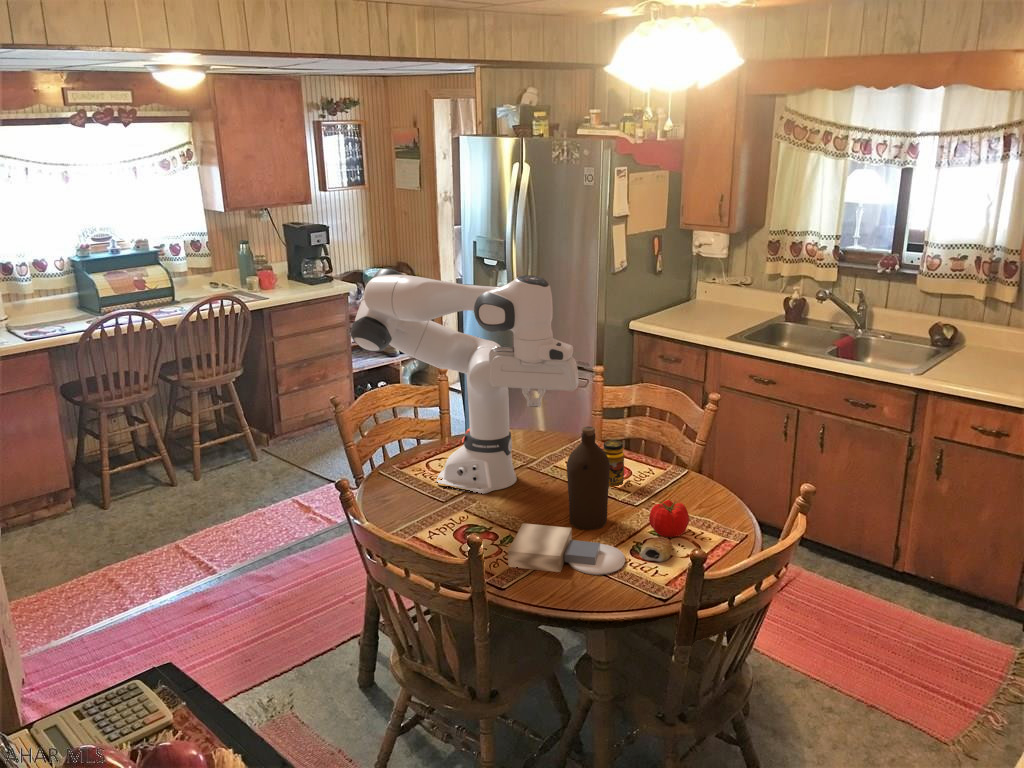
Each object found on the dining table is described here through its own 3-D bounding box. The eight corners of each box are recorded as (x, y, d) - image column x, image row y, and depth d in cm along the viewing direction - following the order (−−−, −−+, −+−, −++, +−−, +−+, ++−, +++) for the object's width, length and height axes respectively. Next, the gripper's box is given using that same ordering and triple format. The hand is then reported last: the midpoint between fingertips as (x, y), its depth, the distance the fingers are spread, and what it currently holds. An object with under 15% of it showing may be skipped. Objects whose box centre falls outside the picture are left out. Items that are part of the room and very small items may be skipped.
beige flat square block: (508, 566, 190) (508, 550, 189) (523, 538, 203) (522, 523, 202) (560, 572, 187) (560, 556, 186) (571, 543, 200) (571, 527, 199)
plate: (562, 571, 188) (562, 568, 187) (573, 544, 200) (573, 541, 199) (621, 577, 184) (621, 574, 184) (628, 549, 196) (628, 546, 196)
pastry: (650, 542, 200) (651, 527, 199) (678, 547, 197) (678, 533, 196) (637, 559, 192) (638, 544, 191) (666, 565, 189) (667, 550, 188)
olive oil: (616, 527, 207) (617, 432, 200) (576, 534, 204) (576, 438, 197) (599, 509, 217) (599, 419, 210) (561, 516, 214) (560, 424, 207)
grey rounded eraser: (564, 562, 190) (564, 554, 189) (570, 547, 196) (570, 539, 196) (595, 565, 188) (595, 557, 188) (600, 550, 195) (600, 542, 194)
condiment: (618, 490, 228) (619, 449, 225) (590, 484, 233) (590, 444, 229) (629, 480, 234) (630, 440, 231) (602, 475, 238) (602, 435, 235)
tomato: (691, 528, 206) (692, 500, 204) (683, 544, 198) (684, 515, 196) (654, 521, 210) (654, 494, 208) (644, 537, 202) (645, 509, 200)
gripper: (485, 349, 188) (486, 408, 192) (575, 353, 183) (574, 413, 187) (492, 342, 194) (494, 399, 198) (579, 346, 189) (579, 404, 193)
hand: (534, 406), depth 192 cm, fingers closed
